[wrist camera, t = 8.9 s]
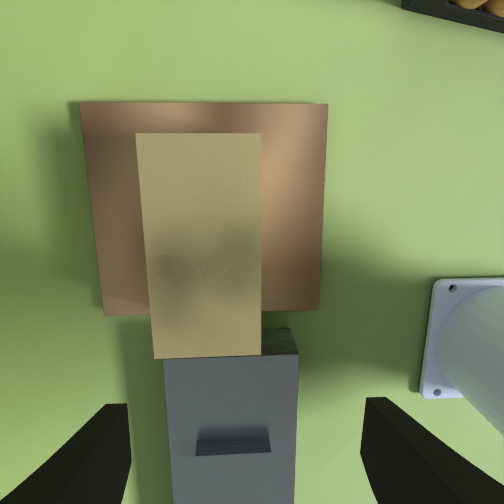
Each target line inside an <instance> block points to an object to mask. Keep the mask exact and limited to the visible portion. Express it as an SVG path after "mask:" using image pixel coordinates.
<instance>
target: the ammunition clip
mask: <svg viewBox="0 0 504 504" xmlns="http://www.w3.org/2000/svg"><path fill="white" fill-rule="evenodd" d="M402 7H403V9H404V10H407V11H412V12H416V13H420V14H424V15H428V16H433V17H437V18H441V19H445V20H450V21H454V22H458V23H462V24H466V25H471V26H475V27H479V28H483V29H487V30H492V31H496V32H500V33H504V0H403V1H402Z"/></svg>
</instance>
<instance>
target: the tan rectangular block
mask: <svg viewBox="0 0 504 504" xmlns="http://www.w3.org/2000/svg"><path fill="white" fill-rule="evenodd" d="M135 136H136V148H137V160H138V172H139V184H140V195H141V207H142V219H143V231H144V243H145V255H146V267H147V279H148V291H149V303H150V315H151V327H152V339H153V351H154V359H168V358H193V357H219V356H244V355H261V133H135Z"/></svg>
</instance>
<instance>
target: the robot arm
mask: <svg viewBox="0 0 504 504" xmlns="http://www.w3.org/2000/svg"><path fill="white" fill-rule="evenodd" d="M451 285H453V288H452V289H451V290H449V287H450V286H451ZM436 389H437V391H436V392H434V390H436ZM419 392H420V394H421V395H422V396H423V397H424V398H425V399H442V398H464V397H465V398H466V399H467V400H468V401H469V402H470V403H471V404H472V405H473V406H474V407H475V408H476V409H477V410H478V411H479V412H480V413H481V414H482V415H483V416H484V417H485V418H486V419H487V420H488V421H489V422H490V423H491V424H492V425H493V426H494V427H495V428H496V429H497V430H498V431H499V432H500V433H501V434H502V435H503V436H504V277H500V278H458V279H439V280H438V281H436V282H435V283H434V286H433V291H432V299H431V306H430V314H429V321H428V329H427V336H426V343H425V351H424V358H423V366H422V373H421V381H420V388H419ZM360 454H361V458H362V461H363V464H364V467H365V470H366V474H367V477H368V479H369V482H370V485H371V488H372V491H373V493H374V495H375V498H376V500H377V502H378V504H504V485H502V484H501V483H499V482H498V481H496V480H495V479H493V478H492V477H490V476H489V475H487V474H486V473H484V472H483V471H482V470H480V469H479V468H477V467H476V466H475V465H473V464H472V463H470V462H469V461H468V460H466V459H465V458H463V457H462V456H461V455H459V454H458V453H457V452H455V451H454V450H453V449H451V448H450V447H449V446H447V445H446V444H445V443H443V442H442V441H441V440H440V439H438V438H437V437H436V436H434V435H433V434H432V433H431V432H429V431H428V430H427V429H426V428H424V427H423V426H422V425H421V424H419V423H418V422H417V421H416V420H414V419H413V418H412V417H411V416H409V415H408V414H407V413H406V412H404V411H403V410H402V409H401V408H399V407H398V406H397V405H396V404H394V403H393V402H392V401H390V400H389V399H388V398H386V397H367V398H366V404H365V413H364V422H363V431H362V440H361V449H360ZM131 462H132V459H131V447H130V434H129V422H128V410H127V403H124V404H105V405H104V406H103V407H102V408H101V409H100V410H99V411H98V412H97V413H96V414H95V415H94V416H93V417H92V418H91V419H90V420H89V421H88V422H87V423H86V424H85V425H84V426H83V427H82V428H81V429H79V430H78V431H77V432H76V433H75V434H74V435H73V436H72V437H71V438H70V439H69V440H68V441H67V442H66V443H65V444H64V445H63V446H62V447H61V448H60V449H59V450H58V451H57V452H55V453H54V454H53V455H52V456H51V457H50V458H49V459H48V460H47V461H46V462H45V463H44V464H43V465H41V466H40V467H39V468H38V469H37V470H36V471H35V472H33V473H32V474H31V475H30V476H29V477H28V478H27V479H25V480H24V481H23V482H22V483H21V484H20V485H19V486H17V487H16V488H15V489H14V490H13V491H12V492H10V493H9V494H8V495H7V496H5V497H4V498H3V499H2V500H1V501H0V504H121V502H122V499H123V495H124V491H125V487H126V483H127V479H128V475H129V470H130V466H131Z"/></svg>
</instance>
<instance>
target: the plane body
mask: <svg viewBox="0 0 504 504" xmlns="http://www.w3.org/2000/svg"><path fill="white" fill-rule="evenodd" d="M163 369H164V383H165V396H166V410H167V424H168V437H169V451H170V464H171V478H172V492H173V504H294V484H295V456H296V427H297V398H298V370H299V353H298V350H297V348H296V345H295V342H294V339H293V337H292V334H291V331H290V328H278V329H261V355H244V356H219V357H193V358H168V359H163Z"/></svg>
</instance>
